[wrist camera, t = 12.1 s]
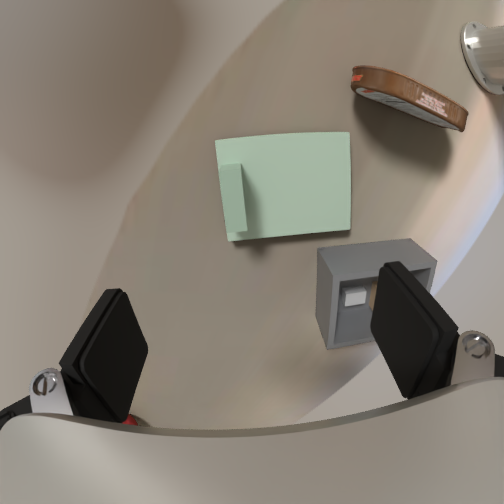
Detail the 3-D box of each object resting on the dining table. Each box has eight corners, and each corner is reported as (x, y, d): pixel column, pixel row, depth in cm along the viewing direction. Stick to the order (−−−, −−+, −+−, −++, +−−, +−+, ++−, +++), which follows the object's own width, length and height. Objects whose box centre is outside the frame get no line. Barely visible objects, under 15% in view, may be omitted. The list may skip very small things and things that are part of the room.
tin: (440, 111, 27) (482, 114, 19) (437, 132, 28) (479, 139, 21) (342, 70, 25) (373, 55, 18) (338, 93, 27) (369, 85, 19)
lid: (342, 131, 29) (365, 133, 23) (344, 223, 34) (364, 244, 28) (216, 139, 29) (210, 142, 23) (228, 234, 34) (226, 258, 28)
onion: (114, 406, 50) (105, 433, 43) (136, 409, 50) (128, 438, 43) (122, 419, 52) (115, 445, 45) (144, 422, 52) (138, 449, 45)
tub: (410, 238, 35) (437, 260, 28) (398, 302, 39) (418, 330, 33) (317, 247, 35) (333, 275, 28) (315, 316, 39) (326, 349, 33)
